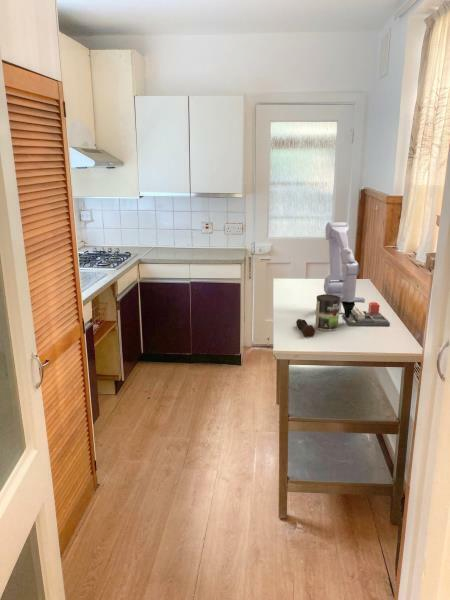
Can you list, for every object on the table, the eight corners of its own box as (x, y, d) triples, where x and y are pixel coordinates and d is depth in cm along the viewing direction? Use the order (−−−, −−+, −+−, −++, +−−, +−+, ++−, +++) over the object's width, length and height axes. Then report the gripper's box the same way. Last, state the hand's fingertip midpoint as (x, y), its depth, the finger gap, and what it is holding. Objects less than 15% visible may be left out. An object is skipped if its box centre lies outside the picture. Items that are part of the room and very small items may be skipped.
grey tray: (349, 325, 219) (350, 320, 218) (342, 315, 233) (342, 310, 232) (389, 326, 218) (390, 320, 218) (379, 315, 233) (380, 311, 232)
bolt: (300, 329, 220) (310, 340, 205) (291, 324, 219) (300, 335, 204) (307, 318, 219) (317, 328, 204) (297, 313, 218) (307, 323, 203)
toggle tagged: (357, 320, 220) (358, 313, 219) (355, 317, 225) (355, 310, 224) (364, 320, 220) (365, 313, 219) (361, 317, 225) (362, 310, 224)
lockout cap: (370, 314, 235) (371, 303, 233) (368, 312, 239) (369, 301, 237) (378, 314, 235) (379, 303, 233) (376, 312, 239) (377, 301, 237)
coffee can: (343, 328, 215) (345, 298, 211) (324, 332, 210) (326, 301, 206) (328, 322, 224) (329, 293, 220) (310, 325, 219) (311, 295, 215)
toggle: (354, 316, 226) (355, 309, 225) (351, 313, 231) (352, 306, 230) (360, 316, 226) (361, 309, 225) (358, 313, 231) (358, 306, 230)
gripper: (334, 291, 215) (333, 319, 219) (367, 291, 215) (365, 320, 218) (331, 287, 222) (330, 315, 225) (363, 287, 221) (361, 315, 225)
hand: (347, 317), depth 222 cm, fingers closed
